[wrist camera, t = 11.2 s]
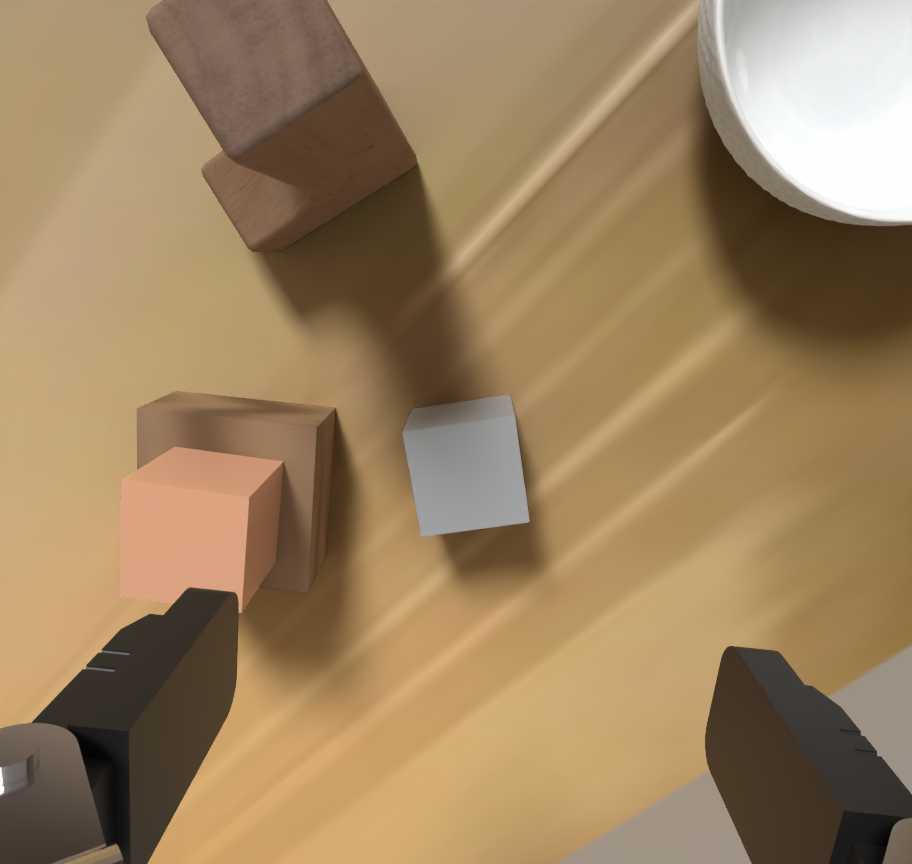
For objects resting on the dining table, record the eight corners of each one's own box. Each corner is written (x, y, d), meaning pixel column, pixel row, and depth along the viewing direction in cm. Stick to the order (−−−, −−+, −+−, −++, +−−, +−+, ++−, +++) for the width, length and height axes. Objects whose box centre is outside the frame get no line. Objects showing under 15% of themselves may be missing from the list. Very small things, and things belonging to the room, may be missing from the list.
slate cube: (509, 394, 39) (514, 415, 34) (523, 487, 40) (529, 522, 35) (412, 408, 39) (402, 432, 34) (428, 500, 41) (421, 536, 35)
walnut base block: (336, 406, 40) (316, 427, 35) (327, 553, 42) (307, 592, 37) (178, 390, 40) (136, 408, 35) (177, 537, 42) (138, 574, 37)
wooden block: (276, 255, 38) (101, 253, 20) (228, 178, 37) (2, 105, 19) (420, 164, 36) (368, 77, 19) (374, 82, 35) (275, -89, 18)
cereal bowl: (1080, 81, 34) (1231, 37, 28) (789, 297, 37) (859, 306, 30) (900, -238, 32) (1018, -376, 25) (599, 23, 34) (630, -35, 28)
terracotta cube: (283, 461, 35) (249, 497, 30) (275, 561, 37) (241, 613, 31) (175, 446, 35) (121, 479, 30) (170, 547, 37) (118, 596, 31)
